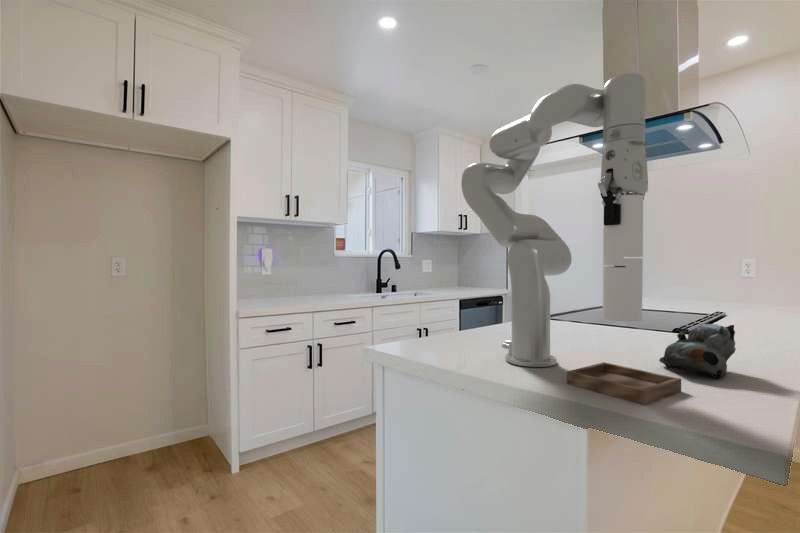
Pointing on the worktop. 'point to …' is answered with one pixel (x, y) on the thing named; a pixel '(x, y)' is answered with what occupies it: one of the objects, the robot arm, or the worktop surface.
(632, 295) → the cylindrical container
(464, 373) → the worktop surface
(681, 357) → the dark grey lumpy shape
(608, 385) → the walnut tray
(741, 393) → the worktop surface
